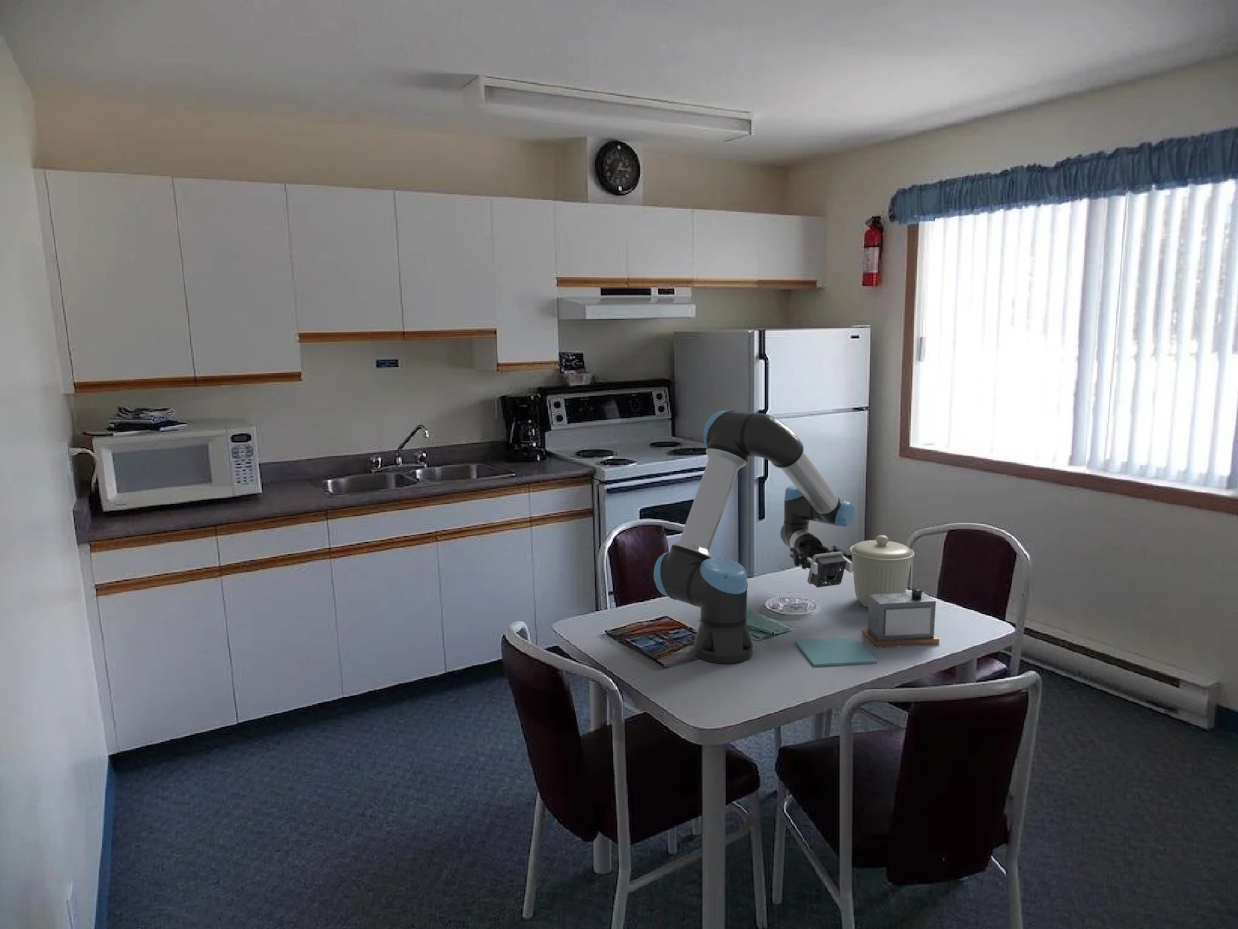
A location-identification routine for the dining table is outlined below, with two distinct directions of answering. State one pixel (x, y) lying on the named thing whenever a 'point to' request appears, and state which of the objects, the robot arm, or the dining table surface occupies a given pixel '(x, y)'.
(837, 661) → the service mat
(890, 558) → the canister
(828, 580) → the electrical switch
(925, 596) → the junction box
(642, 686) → the dining table surface
